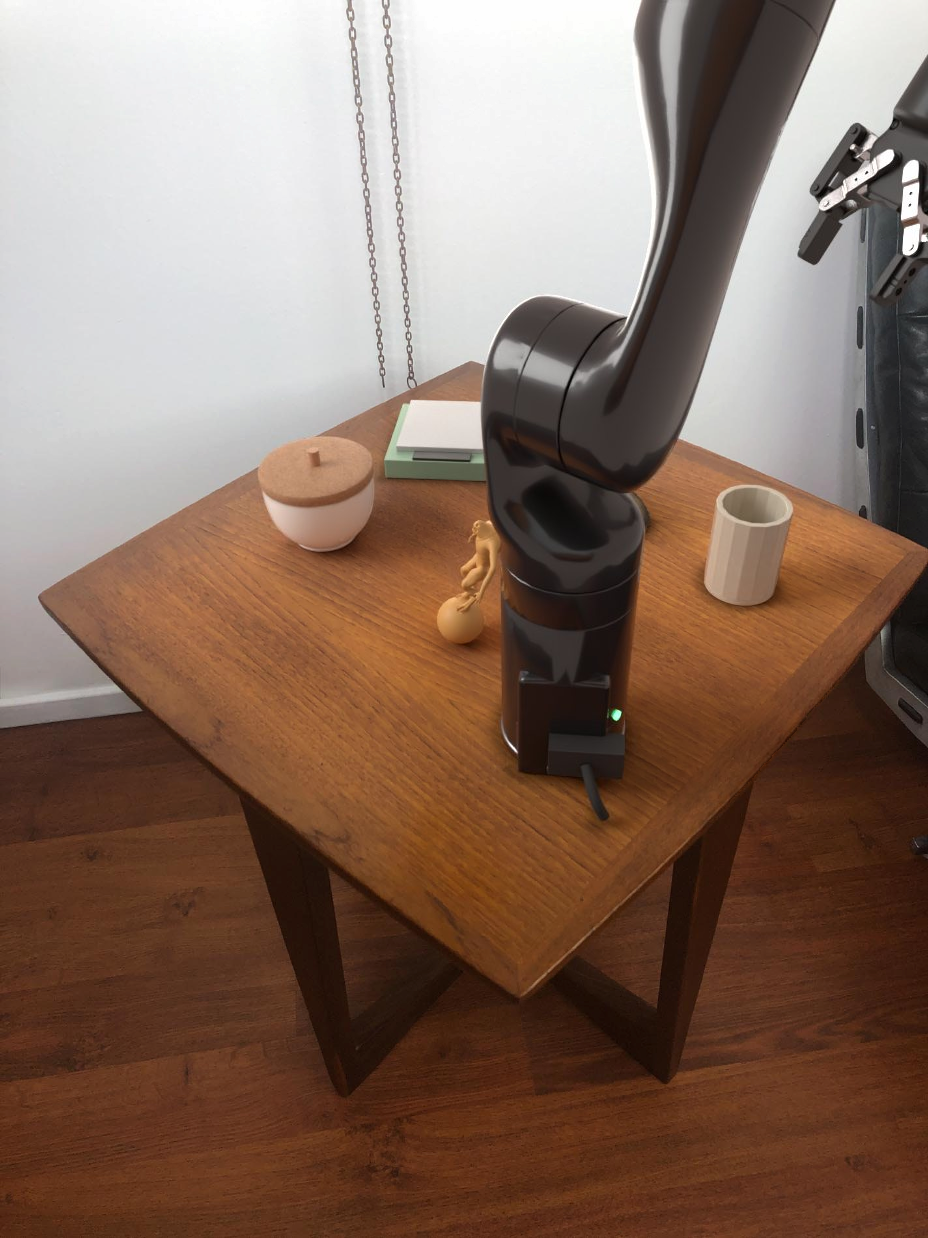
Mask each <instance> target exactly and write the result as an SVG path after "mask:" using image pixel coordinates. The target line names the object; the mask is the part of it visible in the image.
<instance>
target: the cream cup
mask: <svg viewBox="0 0 928 1238" xmlns="http://www.w3.org/2000/svg"><path fill="white" fill-rule="evenodd" d="M793 516H794V507H793V502H792V501H791V500H790V499H789V498H788V497H787V495H785V494H784V493H782V492H780V491H778V490H776V489H775V488H772V487H767V486H764V485H760V484H739V485H734V486H730V487H728V488H727V489H725V490H723V491H721V492H720V493H719V494H718V497H717V498H716V501H715V507H714V512H713V519H712V525H711V531H710V535H709V536H710V537H709V541H708V549H707V553H706V555H707V556H706V561H705V566H704V571H703V572H704V577H703V583H704V587H705V588H706V590H707V591H708V593H709V594H711V595H712V596H713V597H714V598H715V599H718V600H720V601H722V602H723V603H727V604H730V605H735V606H741V607H742V606H743V607H745V606H746V607H747V606H748V607H749V606H755V605H760V604H762V603H764V602H766V601H768V600H769V599H771V597H772V596H773V595H774V593H775V591H776V587H777V585H778V582H779V581H778V580H779V576H780V571H781V568H782V563H783V560H784V555H785V550H786V546H787V542H788V537H789V533H790V530H791V525H792V520H793Z"/></svg>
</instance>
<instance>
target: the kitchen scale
mask: <svg viewBox="0 0 928 1238" xmlns="http://www.w3.org/2000/svg"><path fill="white" fill-rule="evenodd" d="M383 462H384V463H383V465H384V473H385V478H386V479H387V478H389V479H390V478H391V479H411V480H412V479H414V480H440V481H441V480H443V481H444V480H445V481H466V482H467V481H470V482H486V477H485V465H484V454H483V443H482V430H481V401H469V400H468V401H465V400H463V401H462V400H429V399H428V400H427V399H411V400H410V402H409V403H403V404H402V406H401V409H400V412H399V415H398V418H397V420H396V425H395V427H394V429H393V432H392V436H391V439H390V441H389V444H388V447H387V450H386V453H385V456H384V459H383Z"/></svg>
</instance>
